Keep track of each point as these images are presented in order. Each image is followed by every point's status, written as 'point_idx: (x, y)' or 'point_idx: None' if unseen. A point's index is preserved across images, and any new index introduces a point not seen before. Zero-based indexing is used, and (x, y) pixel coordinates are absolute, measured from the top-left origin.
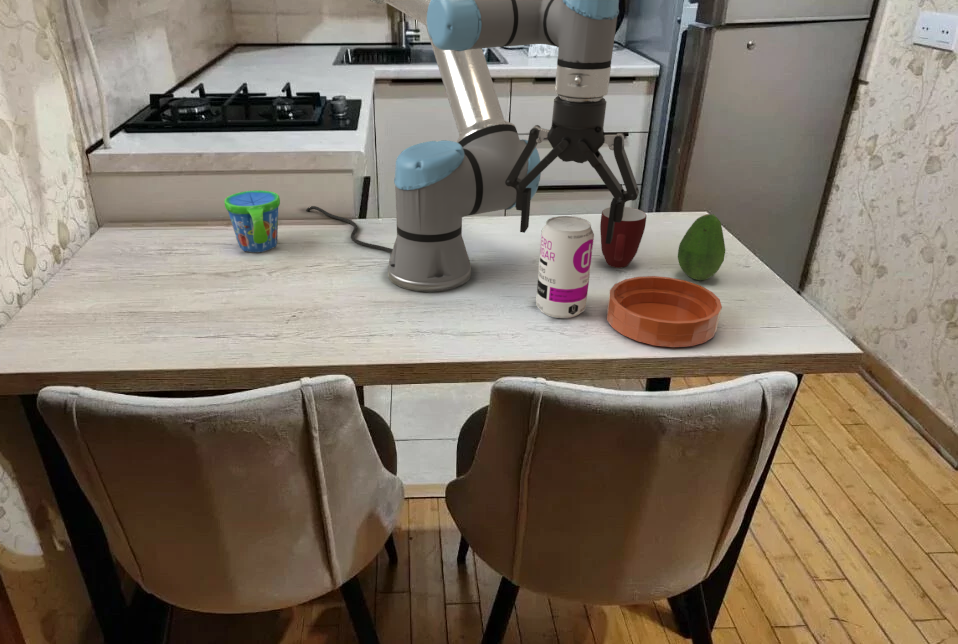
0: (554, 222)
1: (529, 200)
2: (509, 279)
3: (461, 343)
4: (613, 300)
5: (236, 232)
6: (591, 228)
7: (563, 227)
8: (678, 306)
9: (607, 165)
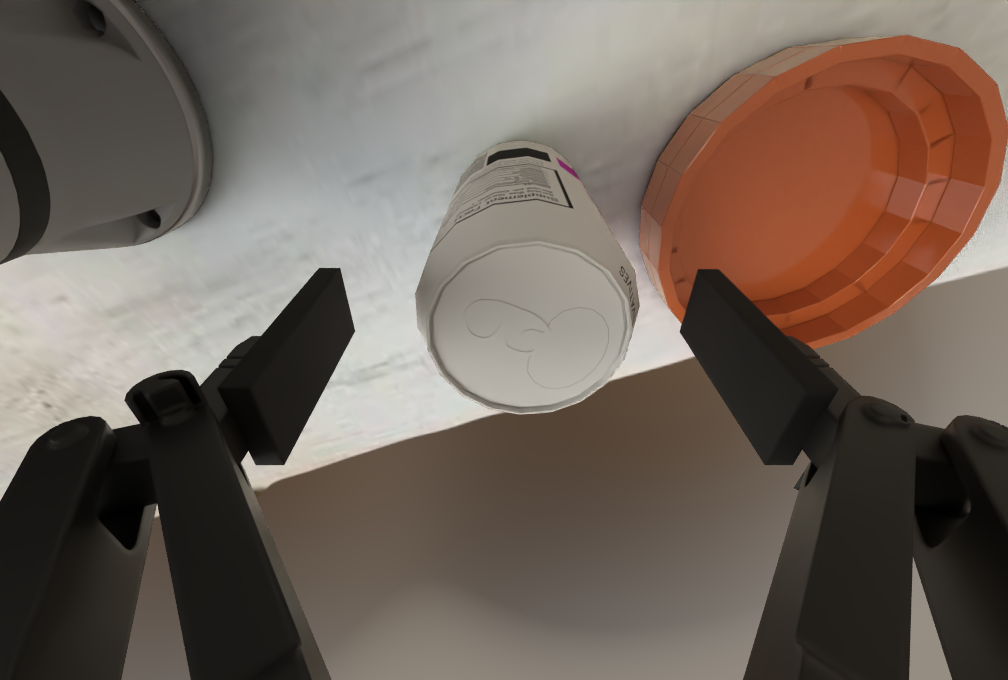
0: (462, 331)
1: (291, 367)
2: (310, 38)
3: (375, 403)
4: (665, 288)
5: None
6: (632, 322)
7: (513, 371)
8: (865, 91)
9: (907, 636)
